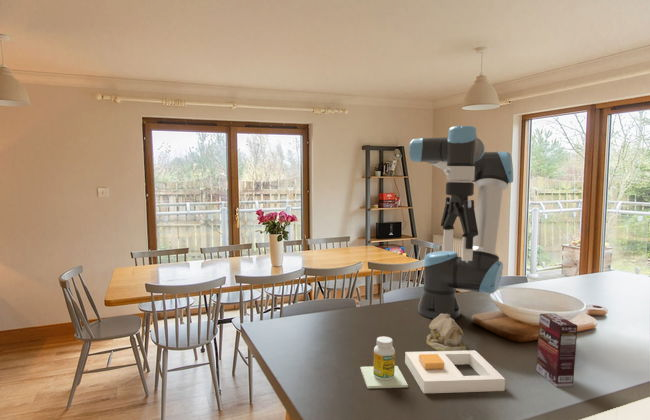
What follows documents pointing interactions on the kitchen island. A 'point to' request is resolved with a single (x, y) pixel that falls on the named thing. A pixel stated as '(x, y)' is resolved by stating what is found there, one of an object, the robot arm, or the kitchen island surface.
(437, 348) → the ceramic model
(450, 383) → the frame
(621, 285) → the kitchen island surface
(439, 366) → the orange sticky note pad
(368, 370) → the mat
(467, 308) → the kitchen island surface
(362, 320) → the kitchen island surface
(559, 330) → the supplement box
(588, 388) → the kitchen island surface
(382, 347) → the supplement bottle
